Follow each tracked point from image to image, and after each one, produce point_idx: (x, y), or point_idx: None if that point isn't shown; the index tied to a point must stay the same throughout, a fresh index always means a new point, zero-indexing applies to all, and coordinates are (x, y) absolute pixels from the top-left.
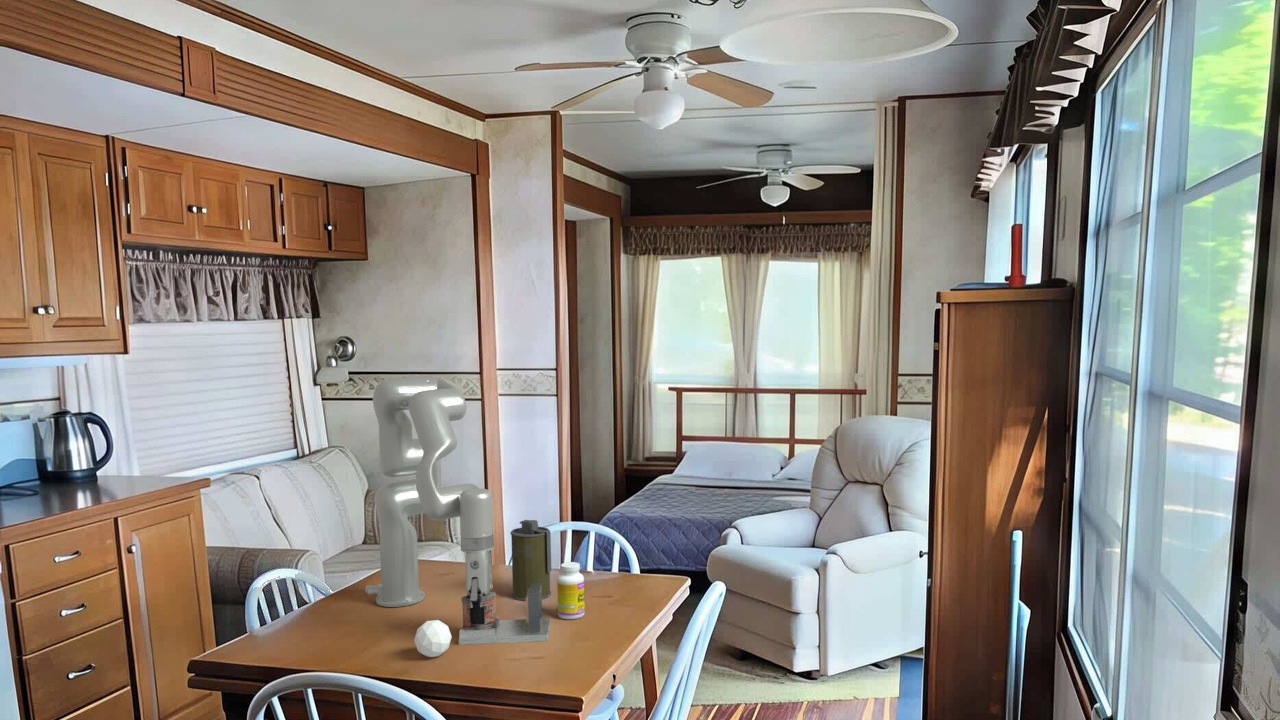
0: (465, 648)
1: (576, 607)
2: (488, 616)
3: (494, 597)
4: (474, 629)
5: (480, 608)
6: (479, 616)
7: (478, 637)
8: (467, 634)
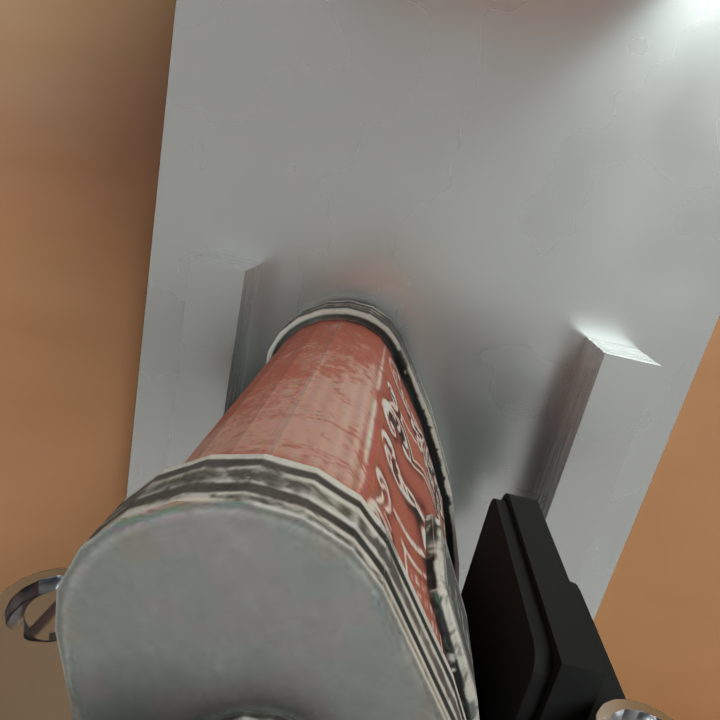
0: (667, 593)
1: None
2: (418, 454)
3: (359, 504)
4: None
5: (593, 713)
6: (591, 633)
7: (632, 516)
8: None
